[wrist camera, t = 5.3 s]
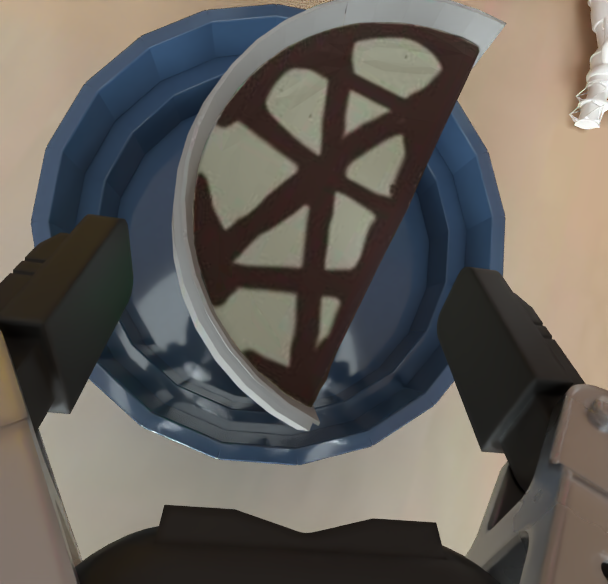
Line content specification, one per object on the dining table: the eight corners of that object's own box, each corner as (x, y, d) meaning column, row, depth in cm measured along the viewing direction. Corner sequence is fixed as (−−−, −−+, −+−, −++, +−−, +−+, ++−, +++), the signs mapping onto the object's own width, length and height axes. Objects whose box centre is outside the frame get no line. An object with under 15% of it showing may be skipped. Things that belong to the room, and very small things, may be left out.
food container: (279, 107, 20) (306, -113, 11) (388, 167, 21) (514, 6, 11) (153, 332, 18) (41, 319, 8) (278, 393, 19) (308, 449, 9)
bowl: (51, 418, 18) (-16, 442, 13) (119, 47, 20) (82, -36, 16) (440, 450, 20) (495, 480, 15) (460, 109, 22) (512, 50, 18)
